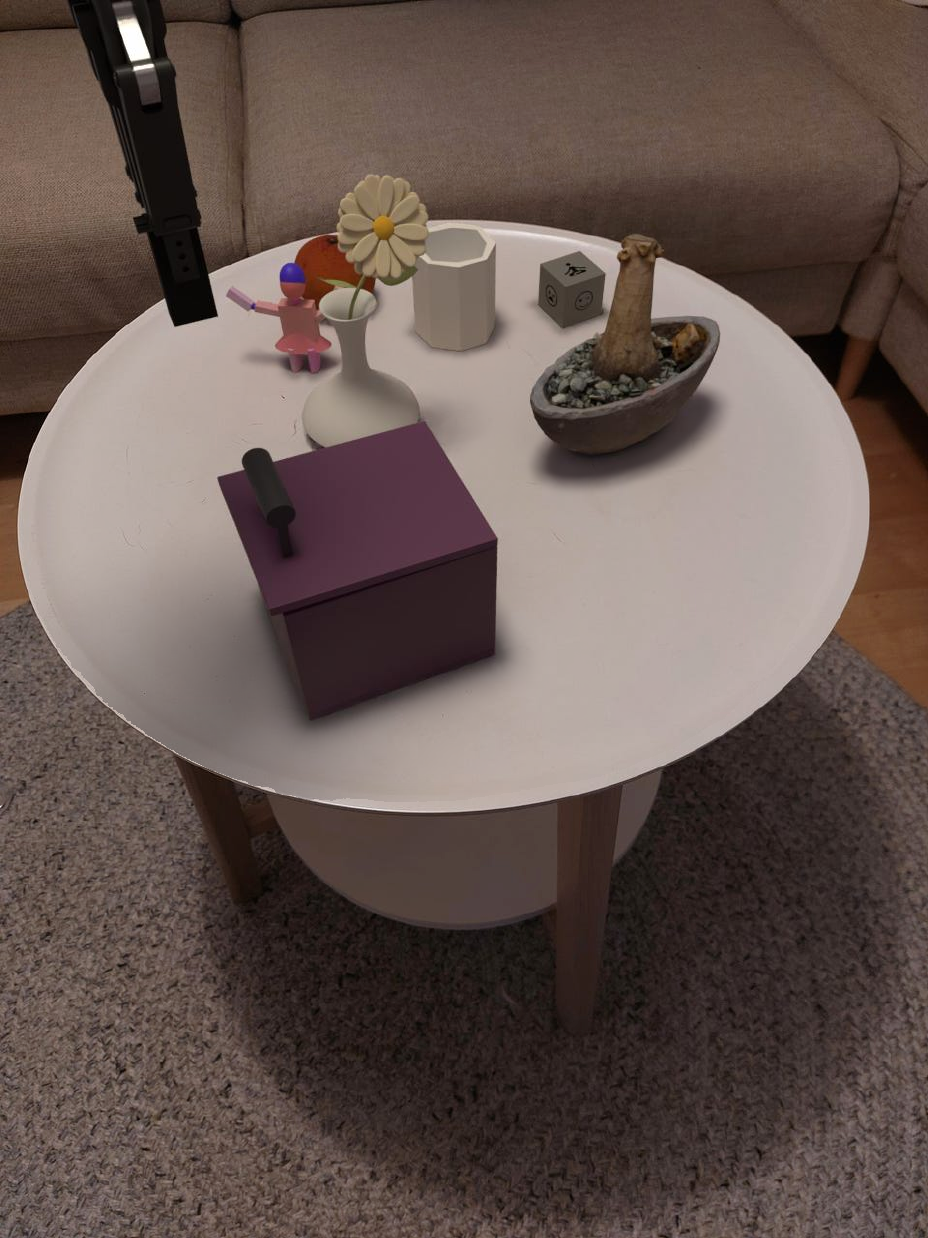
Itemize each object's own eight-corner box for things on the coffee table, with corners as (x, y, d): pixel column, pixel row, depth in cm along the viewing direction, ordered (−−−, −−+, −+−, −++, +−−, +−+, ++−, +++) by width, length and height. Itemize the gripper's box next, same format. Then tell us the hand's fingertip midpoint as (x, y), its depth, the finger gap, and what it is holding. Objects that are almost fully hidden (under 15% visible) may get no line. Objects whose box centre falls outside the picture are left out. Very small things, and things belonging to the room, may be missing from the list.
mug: (499, 348, 103) (500, 264, 96) (418, 354, 103) (413, 270, 95) (486, 283, 111) (486, 200, 103) (410, 288, 110) (405, 206, 102)
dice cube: (562, 328, 105) (565, 287, 101) (538, 304, 108) (540, 263, 104) (601, 314, 107) (605, 273, 103) (576, 291, 109) (579, 250, 106)
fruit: (389, 316, 107) (384, 249, 101) (311, 334, 105) (300, 267, 99) (366, 273, 112) (359, 207, 106) (291, 290, 110) (279, 223, 104)
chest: (310, 720, 75) (284, 617, 65) (261, 595, 83) (230, 486, 73) (495, 654, 79) (497, 546, 68) (431, 540, 86) (425, 428, 76)
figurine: (243, 351, 104) (221, 255, 95) (355, 353, 103) (343, 257, 94) (236, 371, 101) (213, 275, 93) (351, 374, 101) (339, 277, 92)
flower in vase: (307, 472, 92) (260, 223, 72) (301, 395, 99) (257, 149, 79) (444, 457, 93) (435, 207, 73) (429, 381, 100) (417, 135, 80)
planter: (707, 395, 98) (751, 205, 82) (678, 509, 88) (722, 319, 73) (564, 368, 101) (579, 180, 85) (520, 476, 91) (529, 286, 75)
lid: (271, 617, 64) (257, 557, 60) (218, 484, 72) (203, 423, 68) (497, 546, 68) (500, 485, 64) (425, 428, 76) (423, 366, 72)
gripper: (-39, -194, 44) (111, 274, 63) (-3, -109, 37) (155, 393, 55) (128, -212, 46) (226, 248, 65) (193, -135, 39) (283, 360, 57)
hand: (193, 314), depth 60 cm, fingers closed
